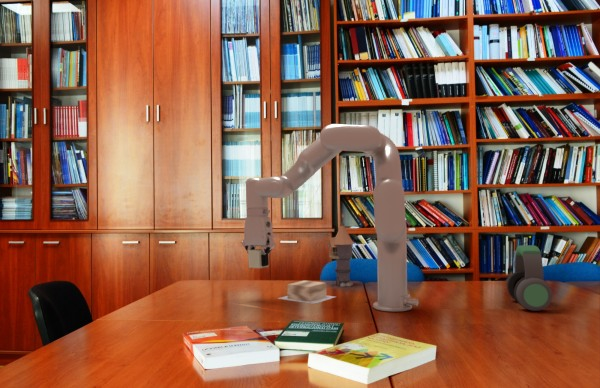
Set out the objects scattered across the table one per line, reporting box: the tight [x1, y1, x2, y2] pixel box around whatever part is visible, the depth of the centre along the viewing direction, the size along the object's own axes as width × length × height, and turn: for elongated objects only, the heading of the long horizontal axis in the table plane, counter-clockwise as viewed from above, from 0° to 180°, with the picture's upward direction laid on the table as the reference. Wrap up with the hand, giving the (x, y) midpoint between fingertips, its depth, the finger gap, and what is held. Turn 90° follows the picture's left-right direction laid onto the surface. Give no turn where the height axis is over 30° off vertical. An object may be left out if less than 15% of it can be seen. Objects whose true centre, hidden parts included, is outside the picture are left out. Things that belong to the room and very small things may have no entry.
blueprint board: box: [277, 294, 336, 304], centre depth 179 cm, size 16×14×1 cm
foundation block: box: [286, 279, 327, 302], centre depth 179 cm, size 10×10×5 cm
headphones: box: [506, 244, 553, 312], centre depth 165 cm, size 19×11×20 cm, turn 168°
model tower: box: [326, 213, 355, 288], centre depth 208 cm, size 10×11×30 cm
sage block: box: [247, 248, 270, 269], centre depth 175 cm, size 5×5×6 cm
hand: (258, 264), depth 175 cm, fingers closed on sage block, 5 cm apart
